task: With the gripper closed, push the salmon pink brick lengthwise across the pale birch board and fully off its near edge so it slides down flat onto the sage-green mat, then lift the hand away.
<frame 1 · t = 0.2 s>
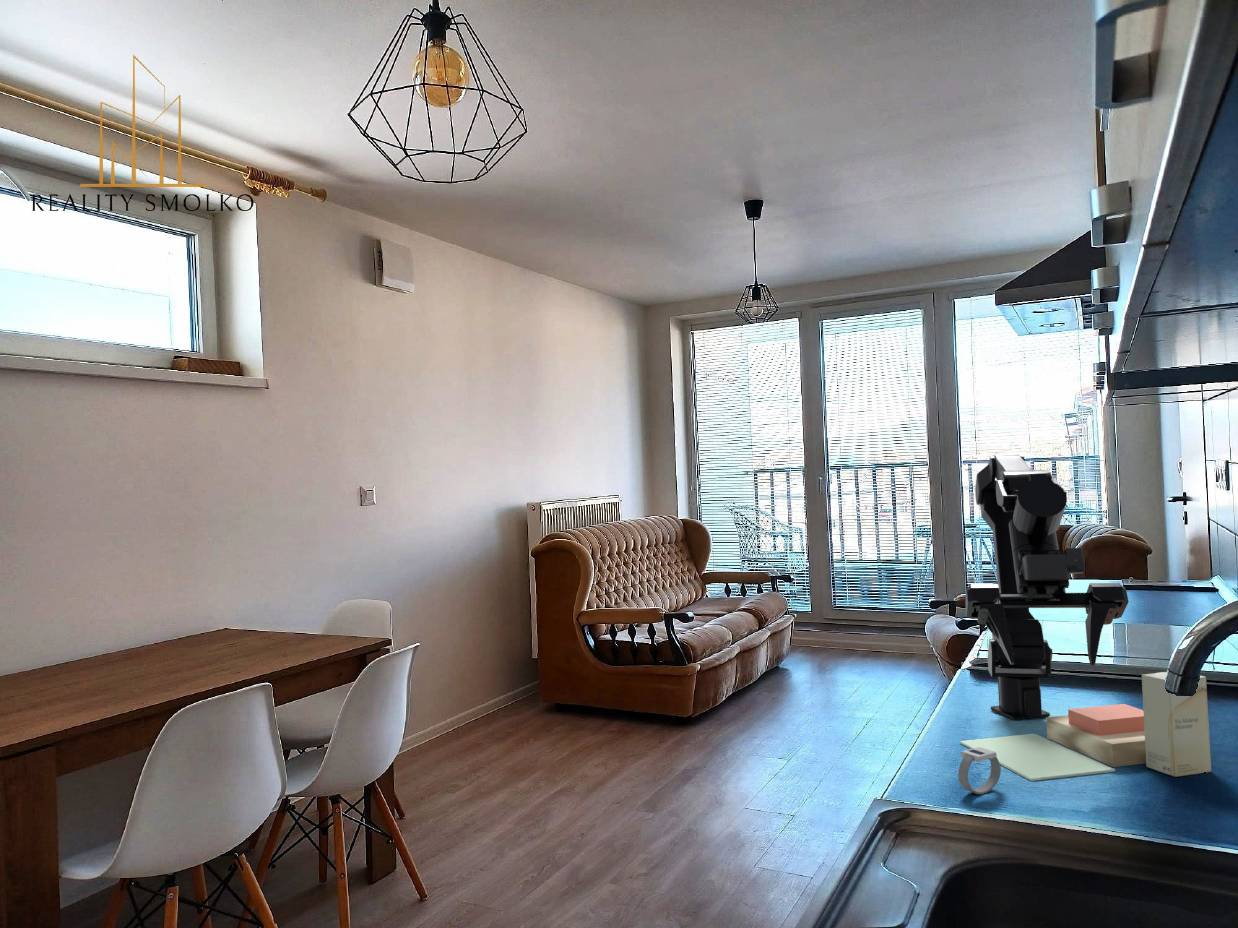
hand: (1052, 664, 107), 15 cm above the countertop, tool tilted 30°, fingers open, 9 cm apart
skincare box: (1178, 770, 109), on the countertop
board: (1113, 747, 119), on the countertop
wristwatch: (980, 793, 105), on the countertop
mat: (1032, 756, 116), on the countertop
salmon pink brick: (1112, 719, 119), point 4 cm above the countertop, touching board
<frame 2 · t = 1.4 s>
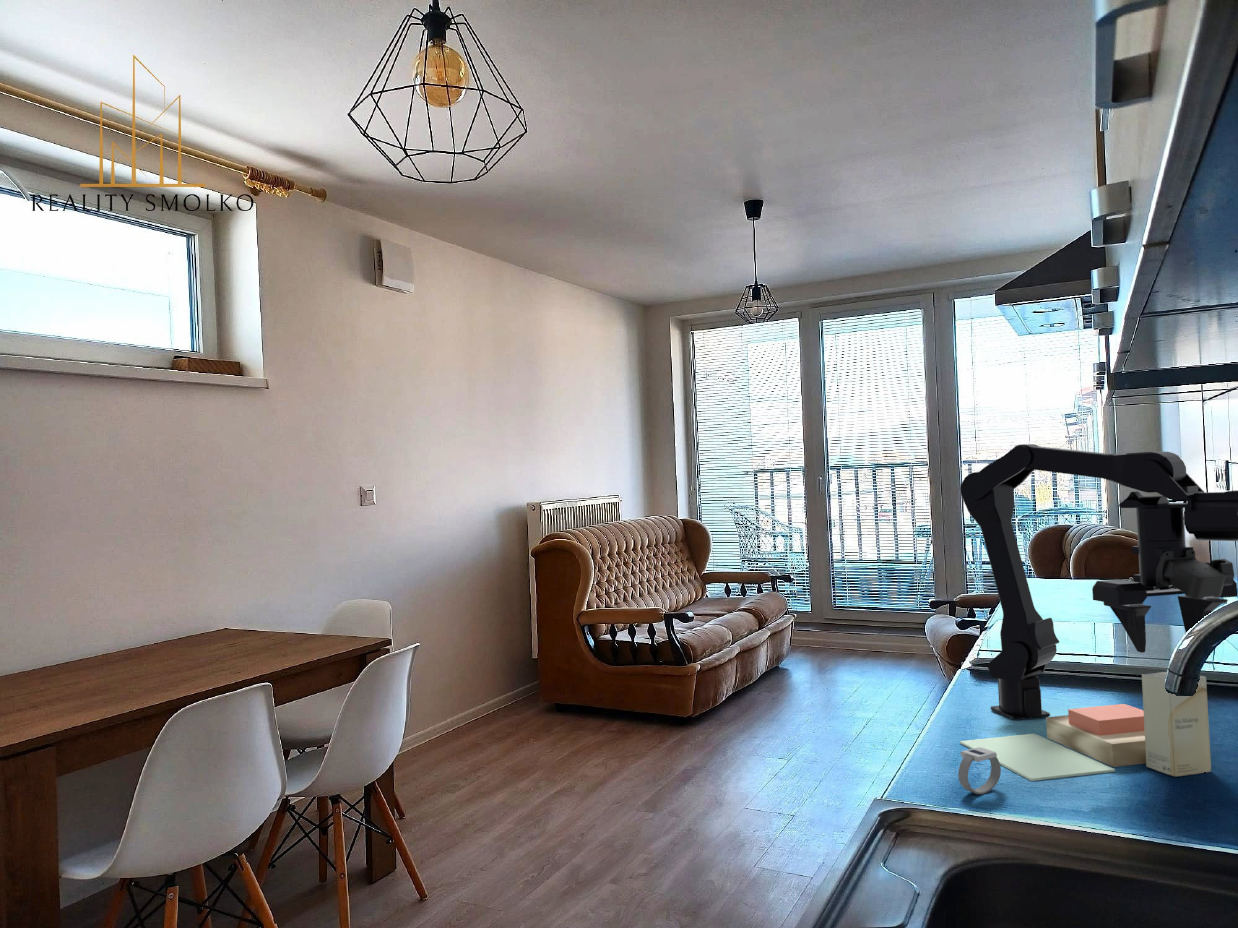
hand: (1167, 649, 120), 13 cm above the countertop, tool pointing down, fingers open, 8 cm apart
nothing on the countertop moved.
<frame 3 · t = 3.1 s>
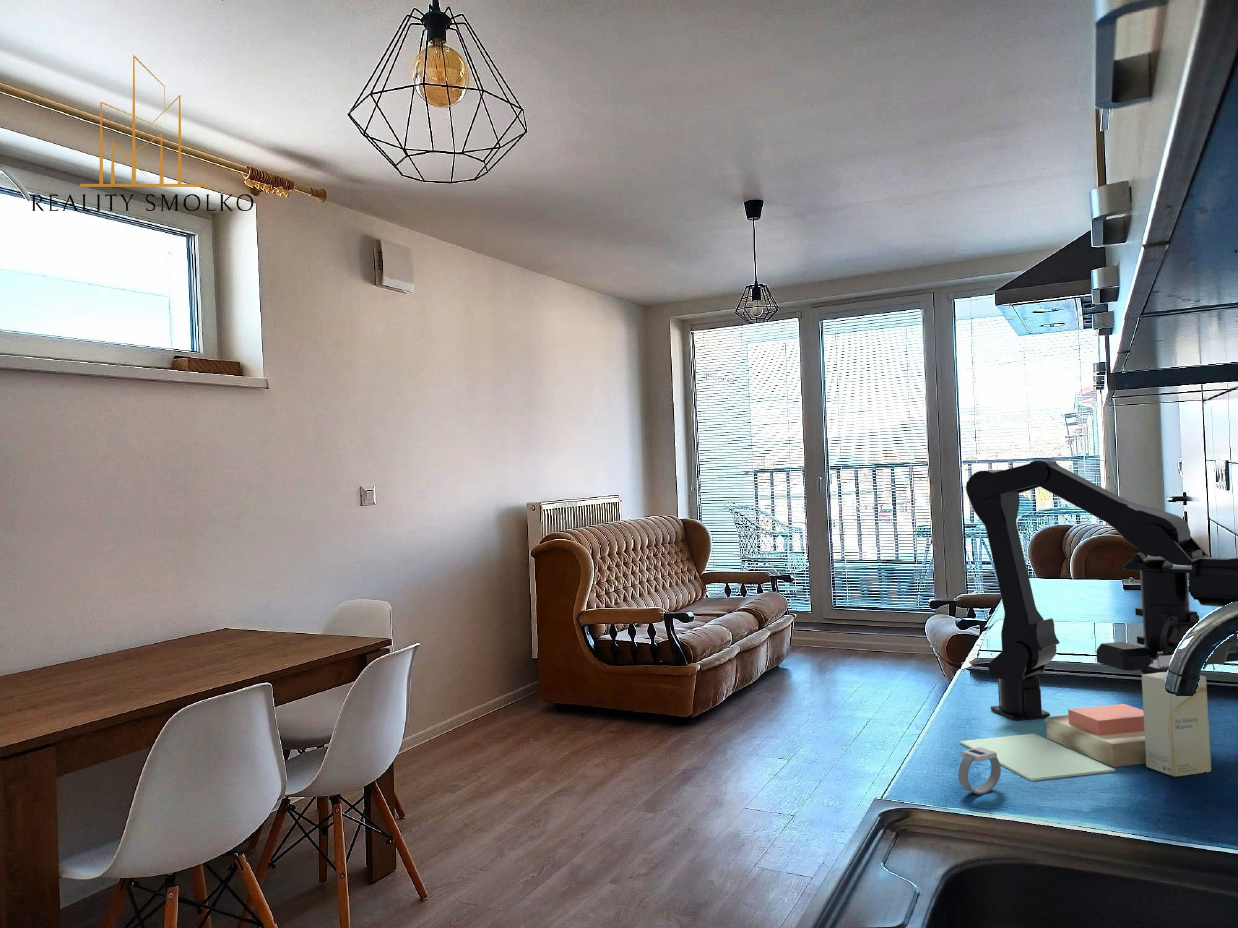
hand: (1171, 712, 120), 4 cm above the countertop, tool pointing down, fingers closed
nothing on the countertop moved.
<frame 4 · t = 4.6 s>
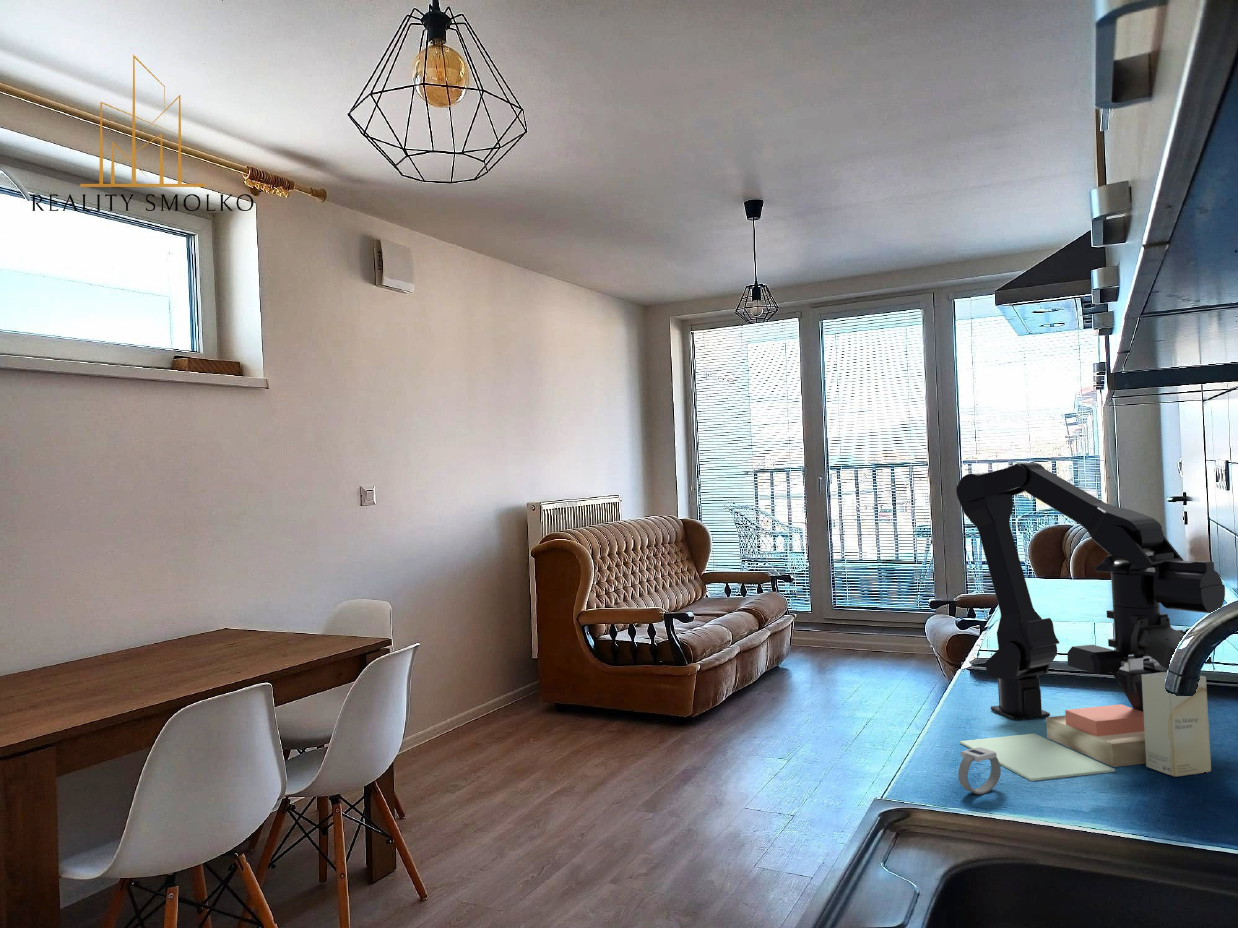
hand: (1142, 716, 119), 4 cm above the countertop, tool pointing down, fingers closed
salmon pink brick: (1109, 719, 118), point 4 cm above the countertop, touching board, gripper
everything else where it was.
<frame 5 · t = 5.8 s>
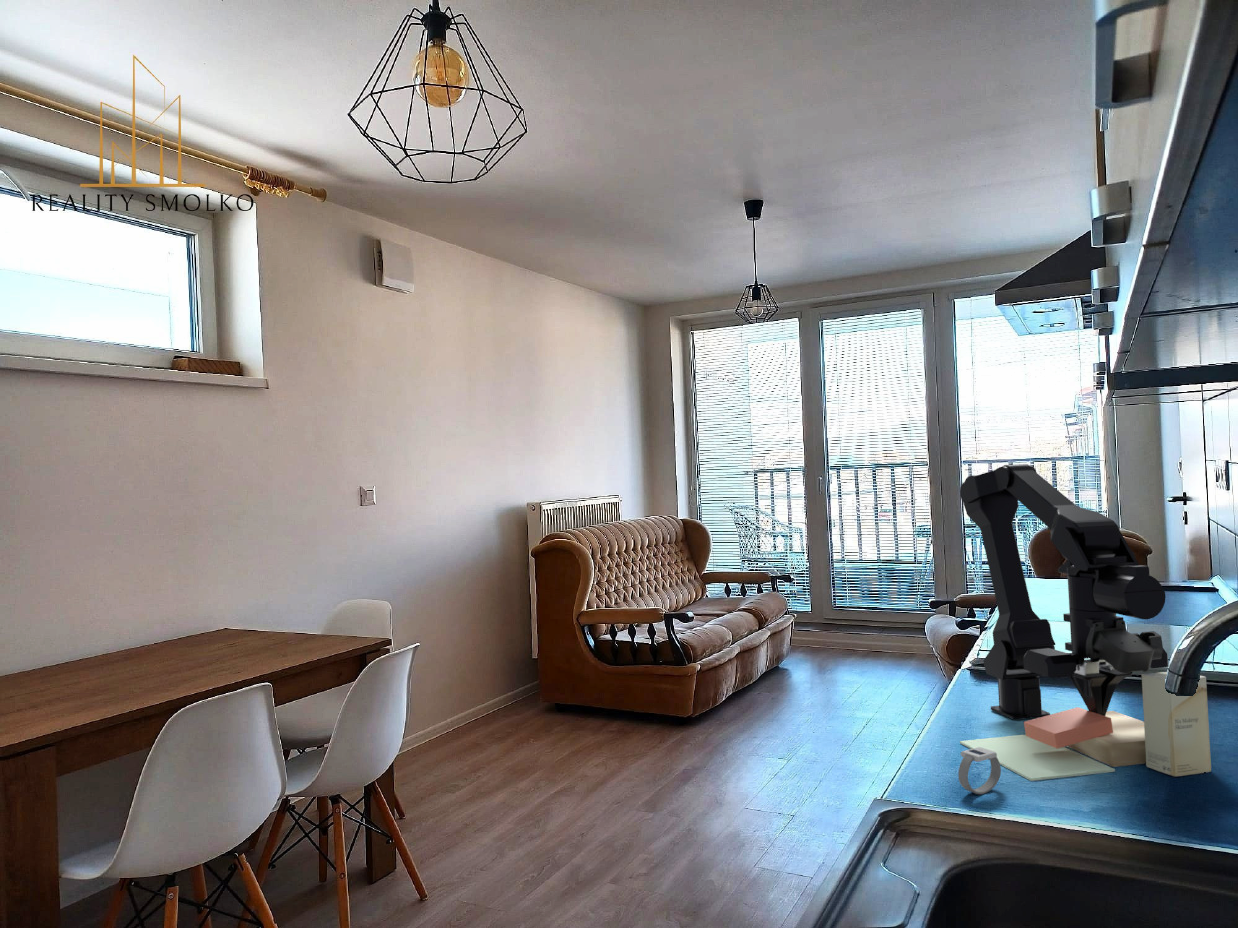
hand: (1098, 720, 118), 4 cm above the countertop, tool pointing down, fingers closed
salmon pink brick: (1067, 727, 117), point 4 cm above the countertop, tilted 7°, touching board, gripper
everything else where it was.
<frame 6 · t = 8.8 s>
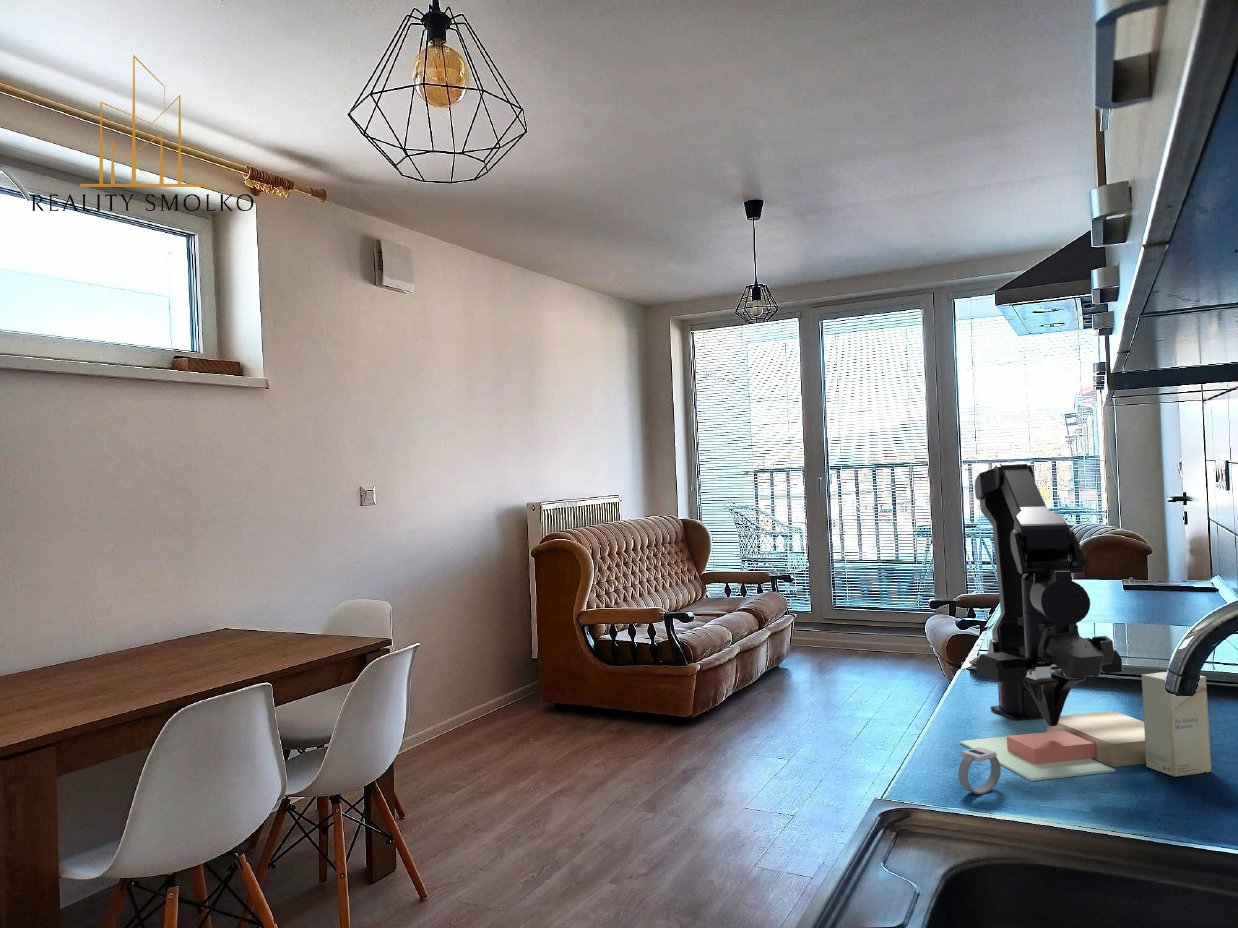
hand: (1051, 725, 117), 4 cm above the countertop, tool pointing down, fingers closed
salmon pink brick: (1050, 746, 116), point 1 cm above the countertop, touching mat
everything else where it was.
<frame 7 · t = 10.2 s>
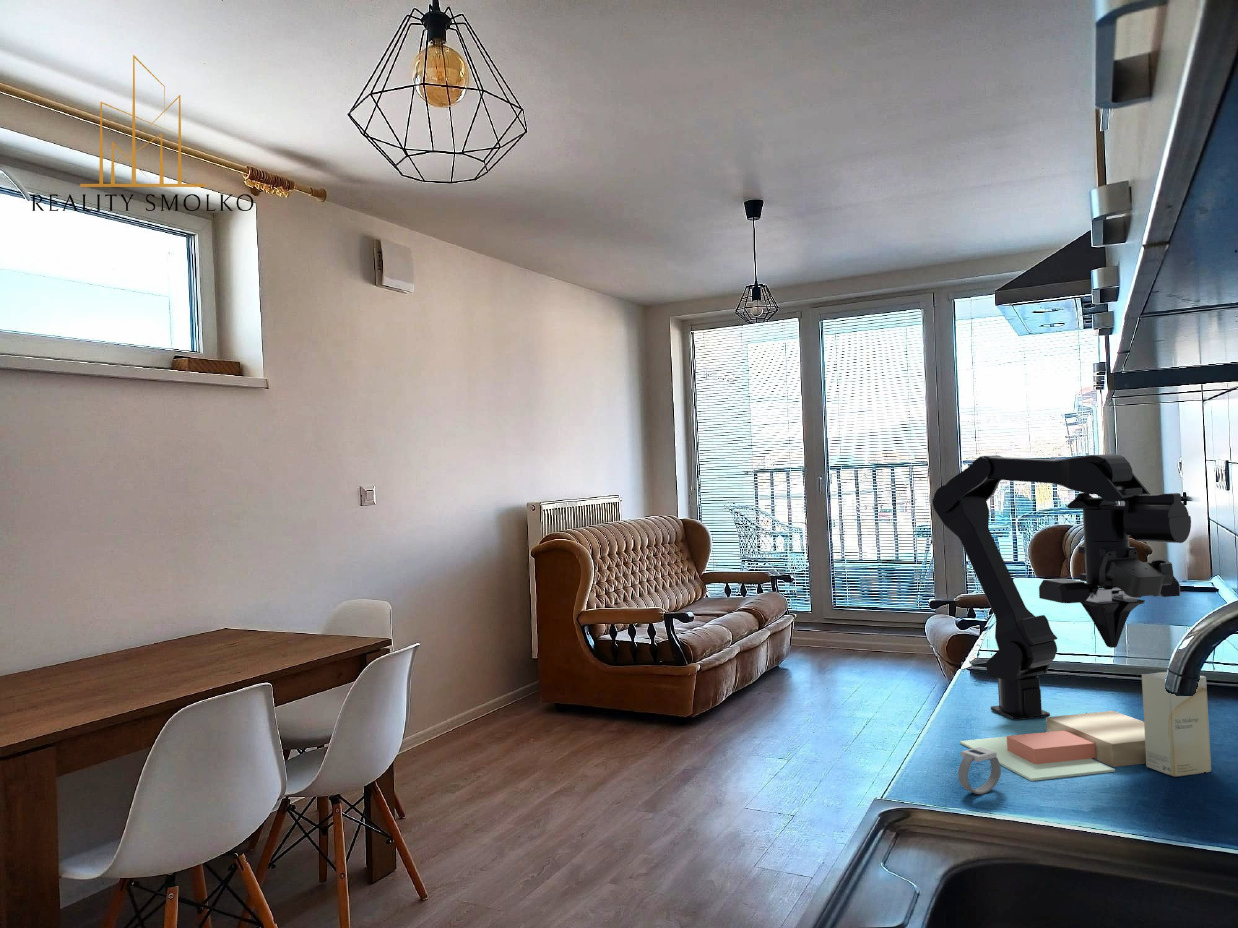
hand: (1111, 647, 124), 13 cm above the countertop, tool pointing down, fingers closed
nothing on the countertop moved.
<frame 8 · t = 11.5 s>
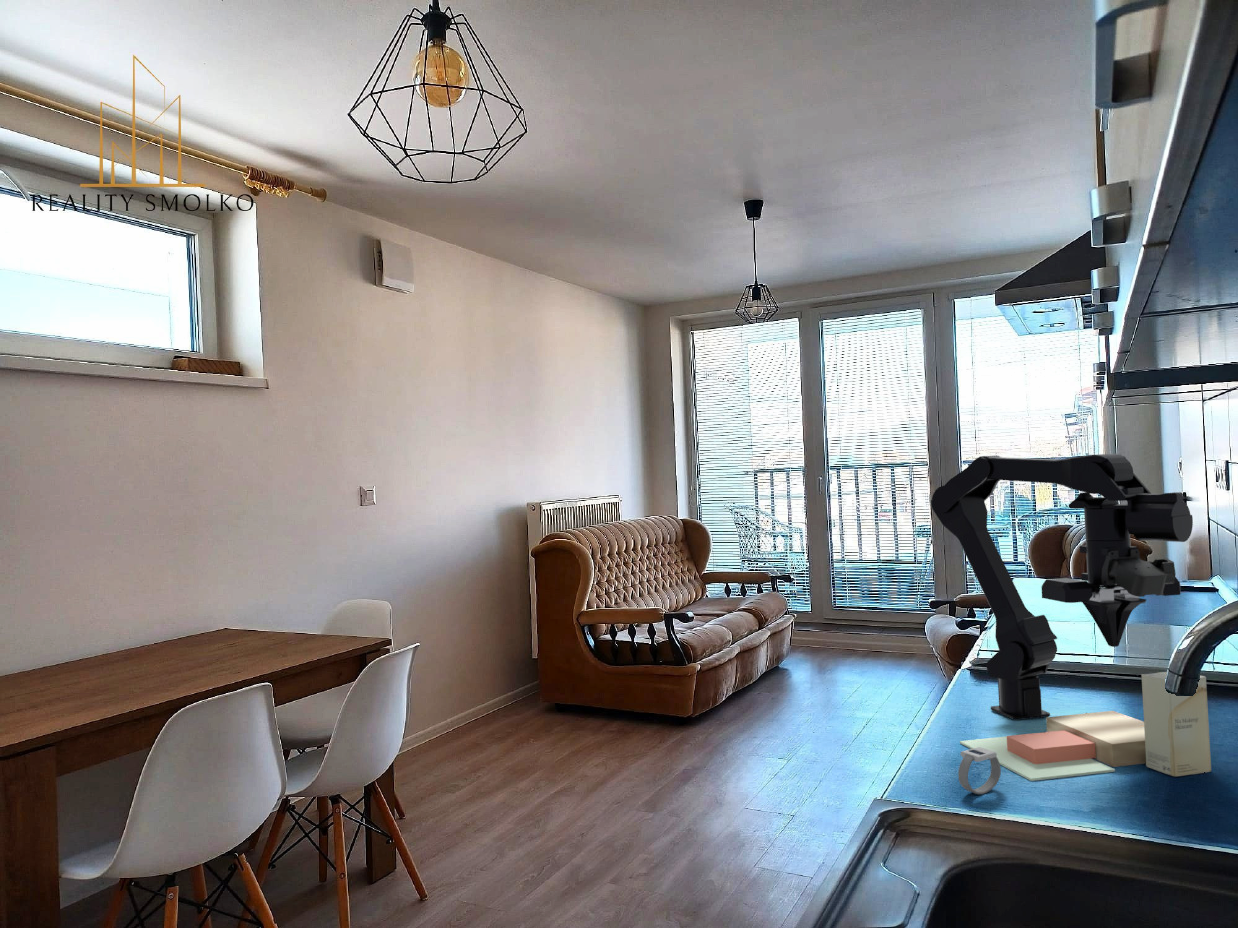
hand: (1113, 646, 124), 13 cm above the countertop, tool pointing down, fingers closed
nothing on the countertop moved.
at the end: salmon pink brick inside the target area (2.9 cm from its centre), point 1.3 cm above the countertop; salmon pink brick point 1.3 cm above the countertop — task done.
